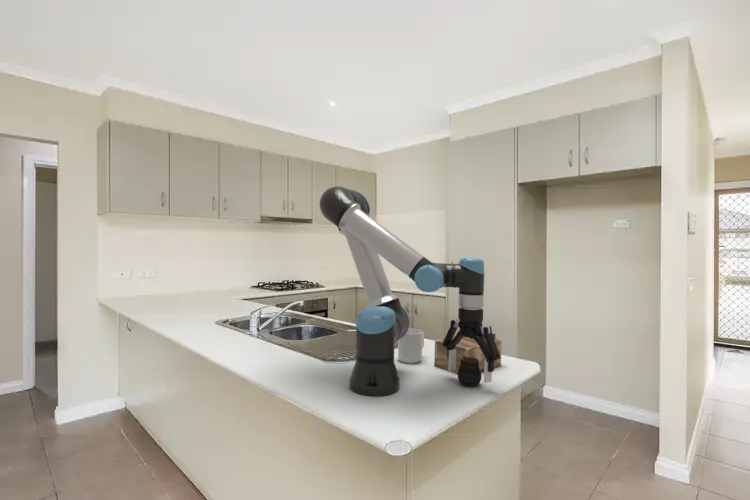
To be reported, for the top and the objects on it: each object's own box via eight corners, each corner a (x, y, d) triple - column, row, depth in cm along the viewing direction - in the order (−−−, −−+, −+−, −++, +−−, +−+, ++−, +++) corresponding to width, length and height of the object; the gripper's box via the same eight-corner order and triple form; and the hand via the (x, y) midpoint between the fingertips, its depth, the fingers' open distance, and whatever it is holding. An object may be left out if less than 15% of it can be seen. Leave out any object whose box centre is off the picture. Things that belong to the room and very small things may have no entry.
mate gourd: (484, 383, 125) (485, 351, 125) (476, 391, 118) (477, 358, 118) (462, 378, 129) (463, 348, 128) (453, 385, 122) (454, 353, 122)
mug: (410, 366, 141) (411, 334, 141) (392, 360, 148) (393, 330, 147) (431, 359, 149) (432, 330, 149) (414, 354, 156) (414, 326, 156)
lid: (464, 351, 131) (464, 342, 131) (436, 344, 140) (437, 335, 140) (499, 343, 144) (499, 334, 144) (471, 336, 153) (472, 328, 153)
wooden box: (466, 376, 131) (466, 349, 130) (434, 366, 141) (434, 340, 141) (501, 365, 143) (501, 340, 143) (469, 356, 154) (469, 333, 154)
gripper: (513, 312, 116) (511, 384, 116) (447, 301, 135) (446, 363, 135) (498, 315, 111) (497, 390, 111) (432, 303, 130) (431, 367, 131)
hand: (469, 375), depth 123 cm, fingers open, 13 cm apart
